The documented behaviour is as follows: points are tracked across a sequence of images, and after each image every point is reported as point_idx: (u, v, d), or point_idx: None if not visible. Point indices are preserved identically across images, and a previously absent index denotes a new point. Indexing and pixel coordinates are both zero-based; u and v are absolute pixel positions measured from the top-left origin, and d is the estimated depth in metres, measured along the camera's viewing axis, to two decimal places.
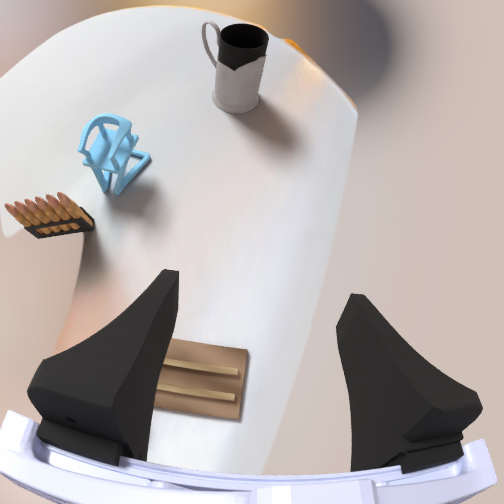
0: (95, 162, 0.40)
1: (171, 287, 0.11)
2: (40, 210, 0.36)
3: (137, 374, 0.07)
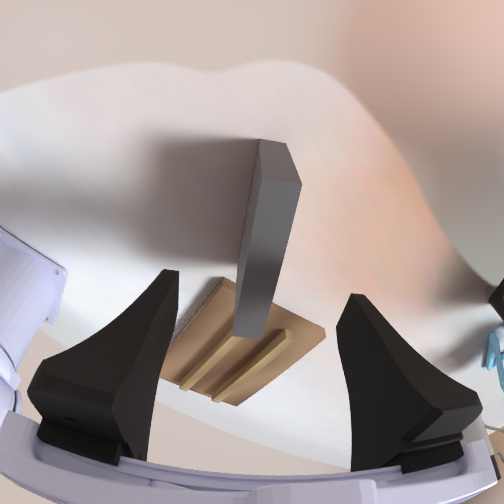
0: None
1: (171, 287, 0.11)
2: None
3: (137, 374, 0.07)
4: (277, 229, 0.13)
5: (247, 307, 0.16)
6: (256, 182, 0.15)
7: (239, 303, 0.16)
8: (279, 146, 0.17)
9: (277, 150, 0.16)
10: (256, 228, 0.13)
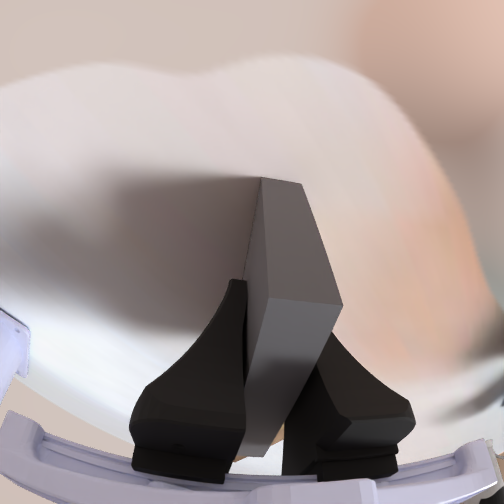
0: None
1: None
2: None
3: None
4: (292, 365, 0.08)
5: (244, 436, 0.10)
6: (257, 269, 0.09)
7: None
8: (293, 193, 0.11)
9: (291, 204, 0.10)
10: (256, 364, 0.08)
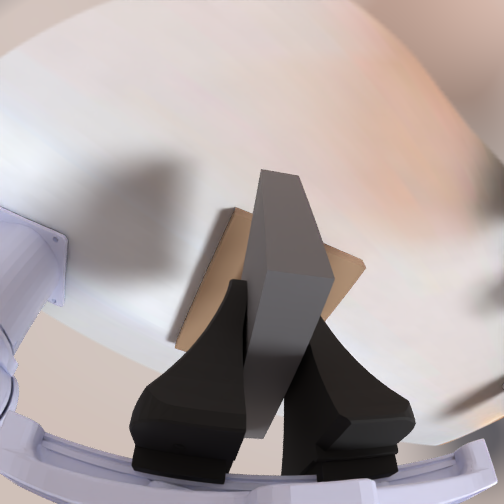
0: None
1: None
2: None
3: None
4: (290, 338, 0.08)
5: None
6: (257, 251, 0.10)
7: None
8: (290, 183, 0.12)
9: (288, 193, 0.11)
10: (257, 337, 0.08)
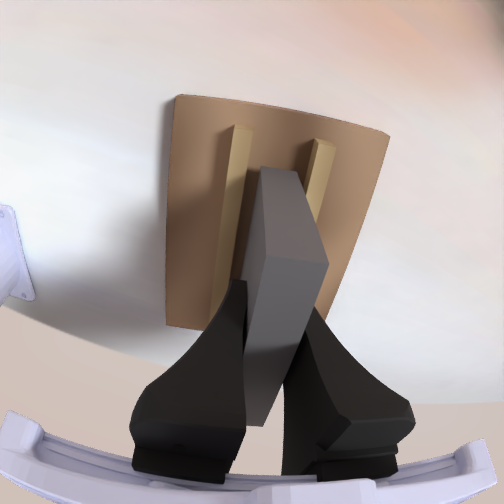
0: None
1: None
2: None
3: None
4: (288, 322, 0.09)
5: (245, 401, 0.11)
6: (257, 241, 0.10)
7: None
8: (288, 178, 0.13)
9: (286, 187, 0.12)
10: (256, 321, 0.09)
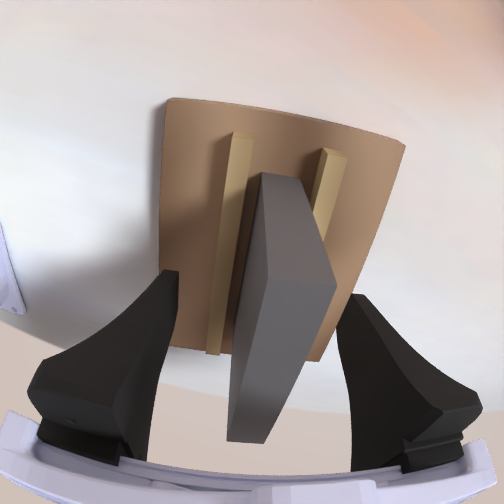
0: None
1: (171, 287, 0.11)
2: None
3: (137, 374, 0.07)
4: (291, 345, 0.08)
5: (245, 420, 0.11)
6: (257, 256, 0.10)
7: (234, 416, 0.10)
8: (291, 186, 0.12)
9: (289, 196, 0.11)
10: (257, 344, 0.08)
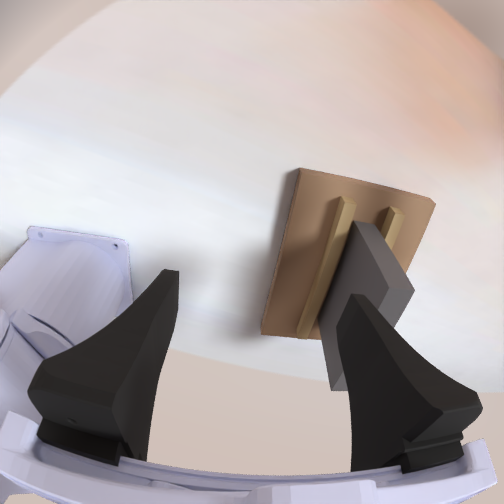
0: None
1: (171, 287, 0.11)
2: None
3: (137, 374, 0.07)
4: (389, 320, 0.16)
5: None
6: (367, 275, 0.17)
7: None
8: (374, 231, 0.19)
9: (376, 239, 0.19)
10: None
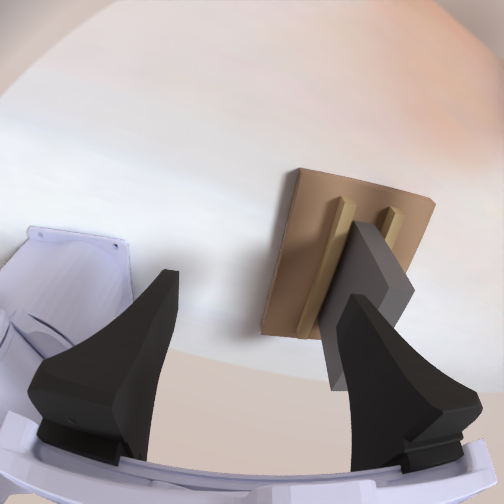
0: None
1: (171, 287, 0.11)
2: None
3: (137, 374, 0.07)
4: (389, 320, 0.16)
5: None
6: (367, 275, 0.17)
7: None
8: (374, 231, 0.19)
9: (376, 239, 0.19)
10: None
